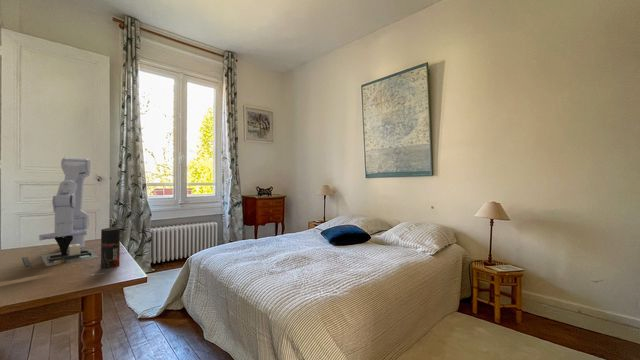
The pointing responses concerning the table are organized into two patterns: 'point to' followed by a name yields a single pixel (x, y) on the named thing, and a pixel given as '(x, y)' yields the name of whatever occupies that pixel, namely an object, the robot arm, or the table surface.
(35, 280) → the table surface
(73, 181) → the robot arm
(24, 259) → the dark gray bar
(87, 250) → the panel
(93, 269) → the table surface
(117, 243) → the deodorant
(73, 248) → the toggle
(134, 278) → the table surface
